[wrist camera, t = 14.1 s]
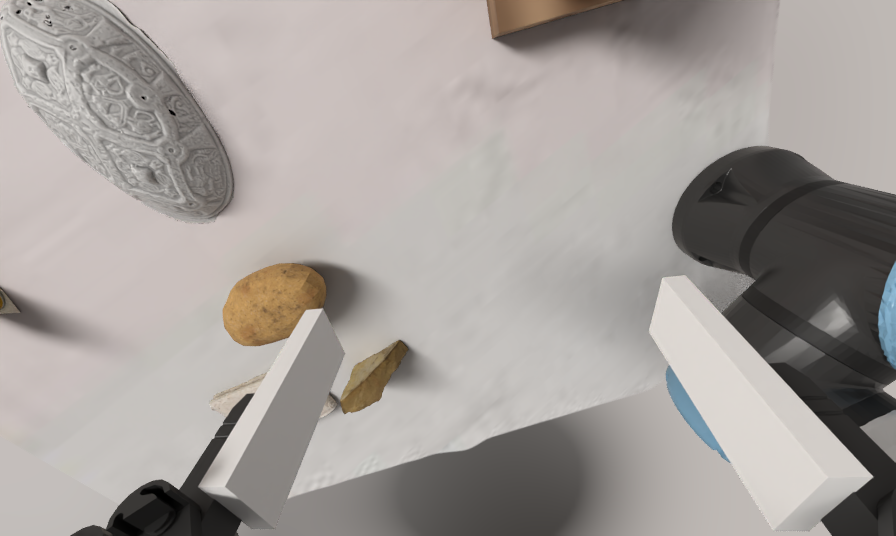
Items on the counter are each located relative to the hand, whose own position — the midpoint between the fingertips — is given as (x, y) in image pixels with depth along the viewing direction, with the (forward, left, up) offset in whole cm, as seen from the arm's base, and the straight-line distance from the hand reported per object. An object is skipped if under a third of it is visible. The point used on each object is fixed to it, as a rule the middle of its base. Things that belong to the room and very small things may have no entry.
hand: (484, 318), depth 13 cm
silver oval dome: (+31, -13, -29) cm, 45 cm away
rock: (+18, +27, -29) cm, 44 cm away
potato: (+25, +10, -29) cm, 40 cm away
